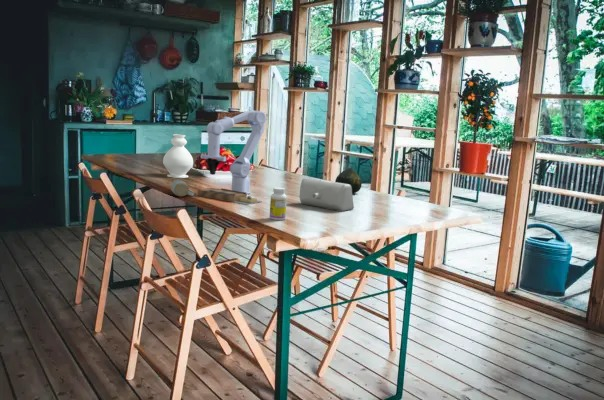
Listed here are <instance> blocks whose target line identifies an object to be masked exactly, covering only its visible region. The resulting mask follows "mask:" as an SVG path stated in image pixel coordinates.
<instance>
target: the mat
mask: <svg viewBox="0 0 604 400" xmlns="http://www.w3.org/2000/svg"><path fill="white" fill-rule="evenodd" d="M260 203H263V201H261V200H257V202H254V203H246V202H241V201H235V202H233V204H241V205H246V206H248V205H253V204H260Z"/></svg>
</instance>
